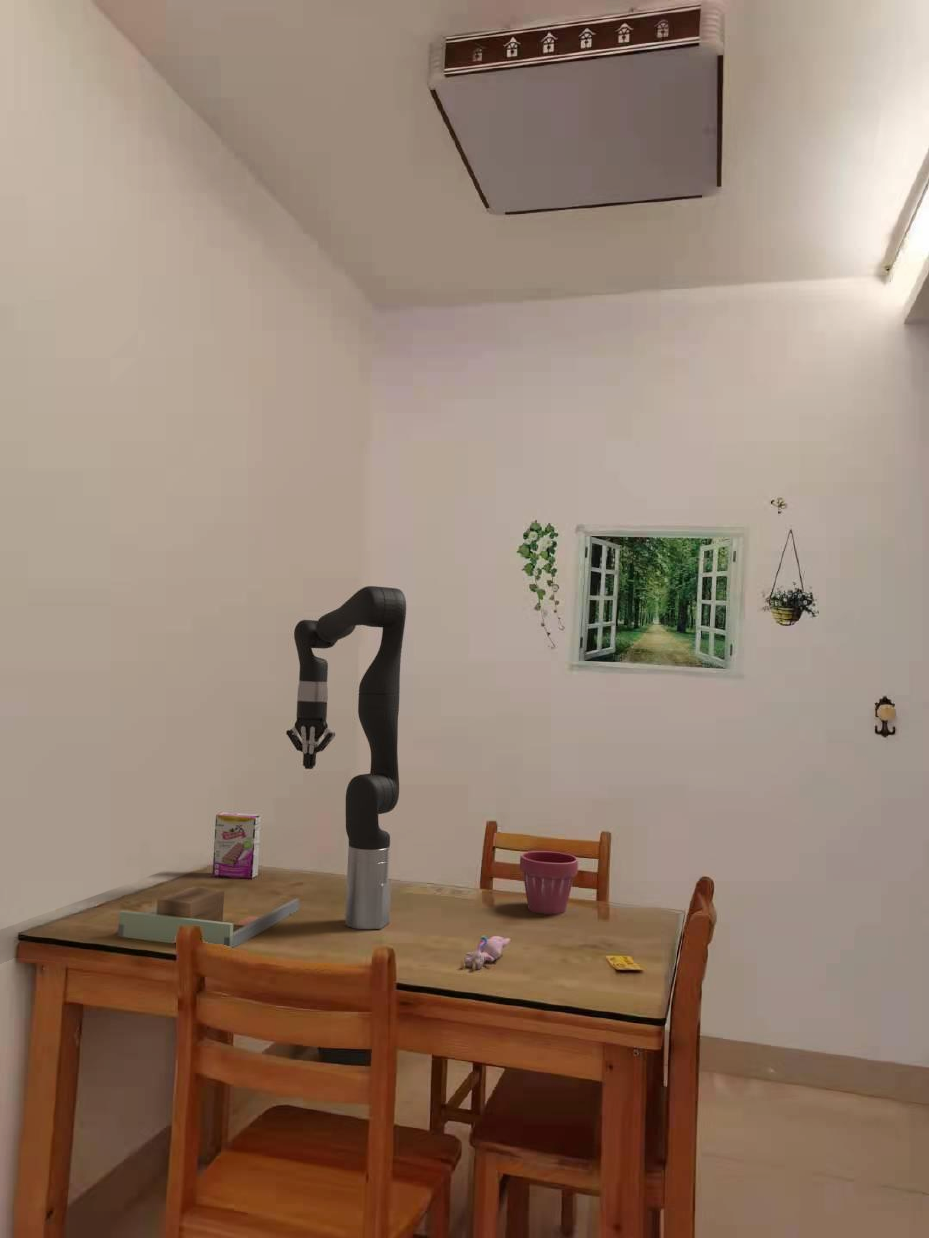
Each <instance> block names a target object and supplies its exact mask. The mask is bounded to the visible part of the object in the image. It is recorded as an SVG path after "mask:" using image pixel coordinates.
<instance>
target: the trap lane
mask: <svg viewBox="0 0 929 1238" xmlns="http://www.w3.org/2000/svg"><path fill="white" fill-rule="evenodd" d="M296 911H297V912H298V911H300V899H299V898H293V899H292V900H290V901H288V902H286V903H285V904H283V905H281V906H279V907H277V908H275V909H273V910H271V911H269V912H268V913H266V914H264V915H262V916H259V917H258V916H252V915H251V916H250V915H249V916H247V917H246V918H243V919H241V920H239V921H238V922H235V923H234V922H226V921H225V922H224V921H223V922H218V921H210V920H201V919H192V918H184V917H175V916H167V915H158V914H157V907H156V908H153V909H151V910H149V911H146V912H142V911H140V912H139V911H131V910H120V911H119V913H118V926H117V928H118V929H117V937H119V938H127V939H134V940H135V939H136V940H143V941H152V942H158V943H160V942H161V943H167V944H174V941H175V936H176V933H177V930H178V927H179V926H200V927H201V929H202V932H203V940H204V941H205V942H208V943H213V944H223V945H227V946H231V947H233V948H232V949H234V948H236V947H237V946H239V945H241V944H243V943H245V942H246V941H248V940H249V939H251V938H253V937H255V936H257V935H259V934H260V933H262V932H263V931H266V930H267V929H269V928H270V926H271V927H272V926H274V925H276V924H278V923H279V922H281V921H283V920H284V918H285V917H286V918H288V917H290V916H291V915H293V914H295V913H297V912H296ZM294 912H295V913H294ZM290 914H291V915H290ZM289 915H290V916H289ZM287 916H288V917H287ZM286 918H285V919H286ZM280 920H281V921H280ZM278 921H279V922H278ZM277 922H278V923H277ZM241 926H244V927H241ZM234 927H240V928H238V929H237V930H234Z"/></svg>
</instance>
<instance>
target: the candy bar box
mask: <svg viewBox="0 0 929 1238" xmlns="http://www.w3.org/2000/svg"><path fill="white" fill-rule="evenodd" d="M261 824H262V815H261V814H255V813H243V812H242V813H240V812H226V811H222V812H218V813H217V814H215V825H214V826H215V827H214V829H215V830H214V843H213V844H214V845H213V860H212V861H213V862H212V877H218V878H230V877H231V879H245V878H253V877H254V878H256V877H257V876H258V875H259V859H260V841H261ZM254 878H253V879H254Z"/></svg>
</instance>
